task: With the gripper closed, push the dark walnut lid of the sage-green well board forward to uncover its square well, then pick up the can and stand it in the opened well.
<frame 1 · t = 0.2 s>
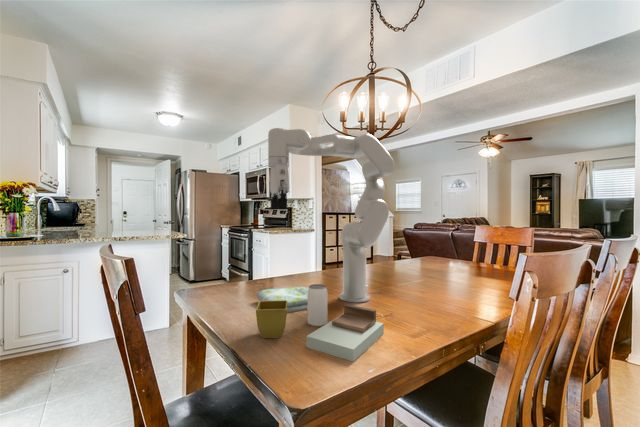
hand: (278, 209, 112), 37 cm above the table, tool pointing down, fingers open, 9 cm apart
flower pot: (272, 335, 89), on the table
towel: (290, 305, 118), on the table
well board: (347, 339, 85), on the table
lid: (354, 317, 89), point 5 cm above the table, slide at 0.0 cm
can: (317, 323, 98), on the table
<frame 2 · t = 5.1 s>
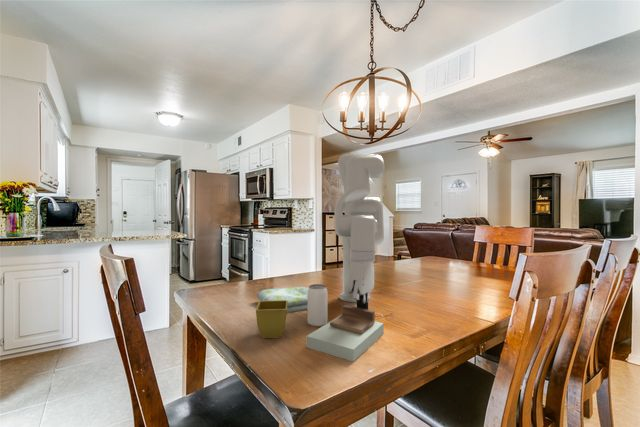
hand: (362, 314, 93), 4 cm above the table, tool pointing down, fingers closed
lid: (352, 318, 88), point 5 cm above the table, slide at 1.2 cm, touching gripper
everything else where it was.
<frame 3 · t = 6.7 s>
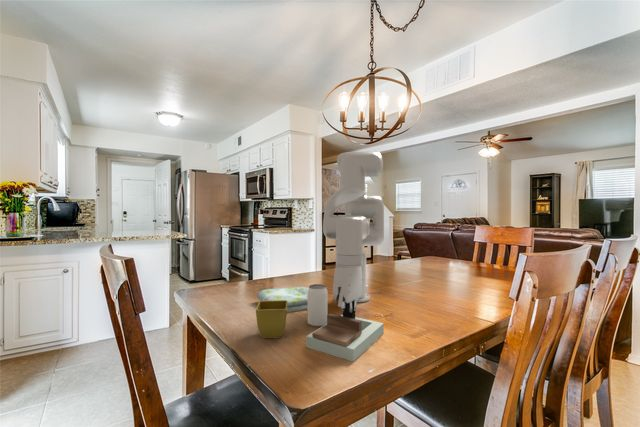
hand: (348, 324, 86), 4 cm above the table, tool pointing down, fingers closed
lid: (337, 328, 80), point 5 cm above the table, slide at 10.2 cm
everything else where it was.
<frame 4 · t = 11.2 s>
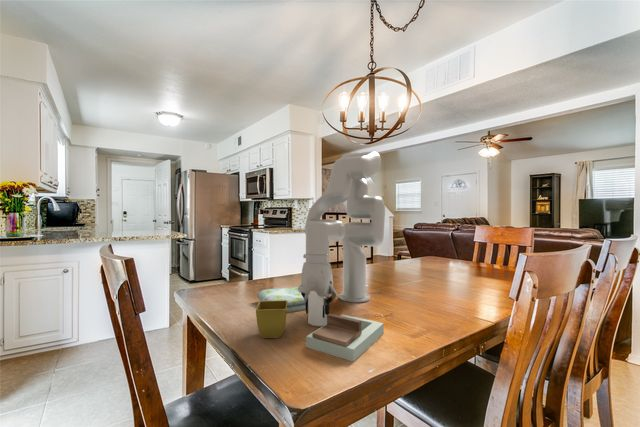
hand: (317, 314, 98), 3 cm above the table, tool pointing down, fingers open, 5 cm apart
can: (317, 323, 98), on the table, touching gripper
everything else where it was.
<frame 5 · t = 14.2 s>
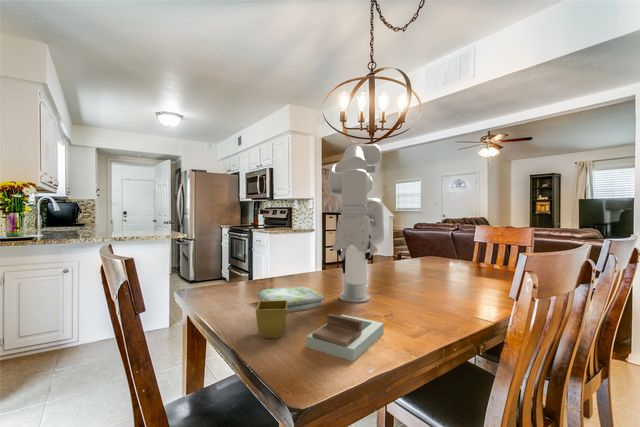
hand: (353, 272, 89), 18 cm above the table, tool pointing down, fingers closed on can, 4 cm apart
can: (356, 283, 89), point 15 cm above the table, touching gripper
everything else where it was.
when the fingers open (5 cm above the table, at t = 17.1 s): can drops 2 cm, resting in well board.
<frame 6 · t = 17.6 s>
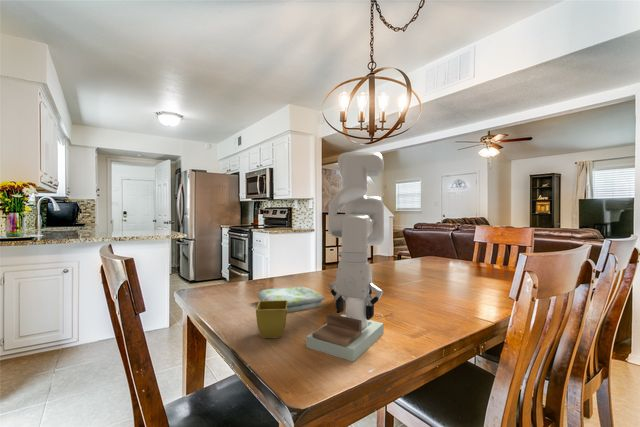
hand: (354, 315, 89), 6 cm above the table, tool pointing down, fingers open, 9 cm apart
can: (356, 335, 89), resting in well board
everything else where it was.
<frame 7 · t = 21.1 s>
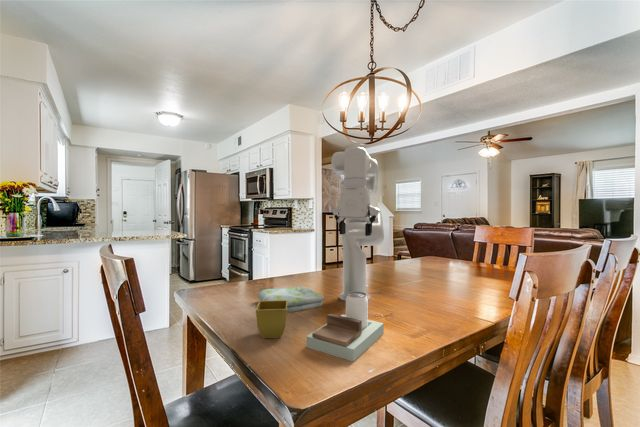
hand: (355, 234, 102), 28 cm above the table, tool pointing down, fingers open, 9 cm apart
nothing on the table moved.
at the end: lid slide at 10.2 cm; can 0.8 cm from the target spot on the well board, point 0.0 cm above the well board's base; can tilted 0° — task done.
